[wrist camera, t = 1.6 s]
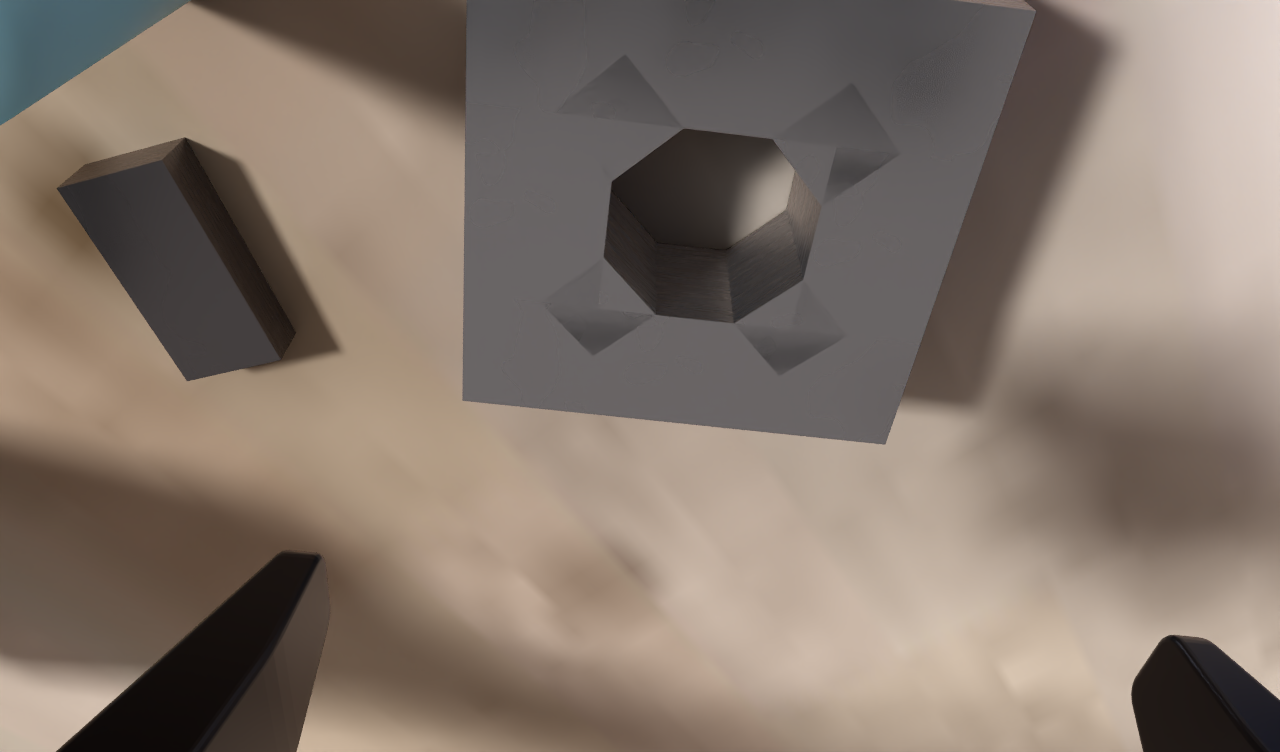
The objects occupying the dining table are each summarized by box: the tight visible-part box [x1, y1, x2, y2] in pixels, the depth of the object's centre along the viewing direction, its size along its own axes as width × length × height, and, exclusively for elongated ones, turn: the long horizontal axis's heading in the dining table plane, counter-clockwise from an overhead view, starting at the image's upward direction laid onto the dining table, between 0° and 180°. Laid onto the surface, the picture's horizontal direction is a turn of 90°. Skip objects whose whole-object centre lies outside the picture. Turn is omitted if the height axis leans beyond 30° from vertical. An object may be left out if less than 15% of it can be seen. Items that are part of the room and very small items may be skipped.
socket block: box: [463, 0, 1036, 444], centre depth 19 cm, size 9×9×3 cm
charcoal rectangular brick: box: [57, 138, 296, 381], centre depth 21 cm, size 5×2×2 cm, turn 15°
